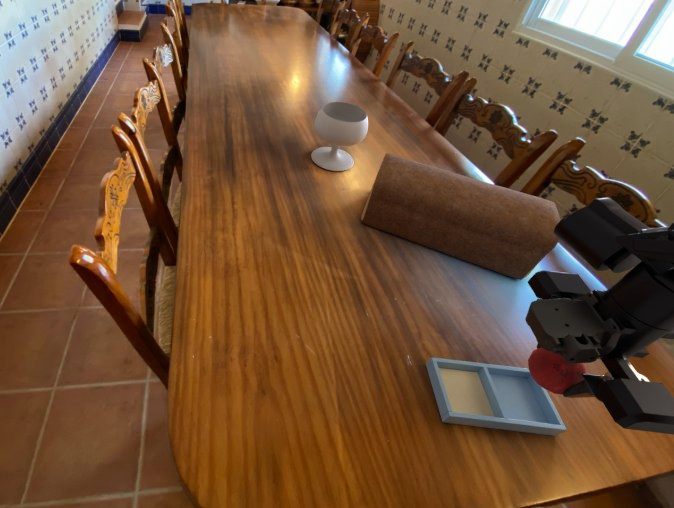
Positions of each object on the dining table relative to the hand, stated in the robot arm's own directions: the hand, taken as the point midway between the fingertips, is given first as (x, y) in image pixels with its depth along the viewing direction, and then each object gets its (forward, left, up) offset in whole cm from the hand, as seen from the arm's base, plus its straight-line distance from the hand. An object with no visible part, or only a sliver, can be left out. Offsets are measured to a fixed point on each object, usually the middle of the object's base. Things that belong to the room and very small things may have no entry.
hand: (552, 371), depth 48 cm
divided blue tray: (0, +4, -10) cm, 11 cm away
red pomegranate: (0, 0, -3) cm, 3 cm away
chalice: (+62, +22, -10) cm, 66 cm away
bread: (+36, 0, -10) cm, 37 cm away
